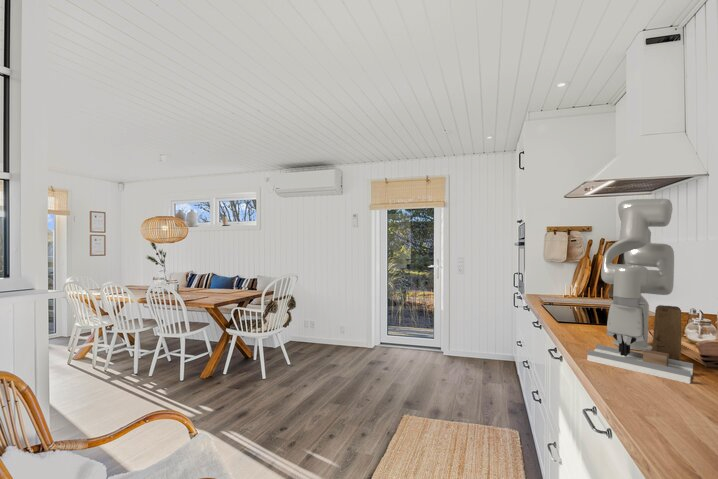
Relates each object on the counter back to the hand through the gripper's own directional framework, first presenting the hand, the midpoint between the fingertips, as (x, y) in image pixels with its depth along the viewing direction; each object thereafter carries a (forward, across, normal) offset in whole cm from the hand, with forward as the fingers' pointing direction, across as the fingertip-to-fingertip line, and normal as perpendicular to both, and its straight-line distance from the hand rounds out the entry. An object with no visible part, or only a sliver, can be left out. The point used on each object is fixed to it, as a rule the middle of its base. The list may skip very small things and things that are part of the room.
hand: (624, 354), depth 128 cm
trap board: (+3, -4, 0) cm, 5 cm away
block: (+3, -10, -14) cm, 17 cm away
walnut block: (+1, -9, +1) cm, 9 cm away
